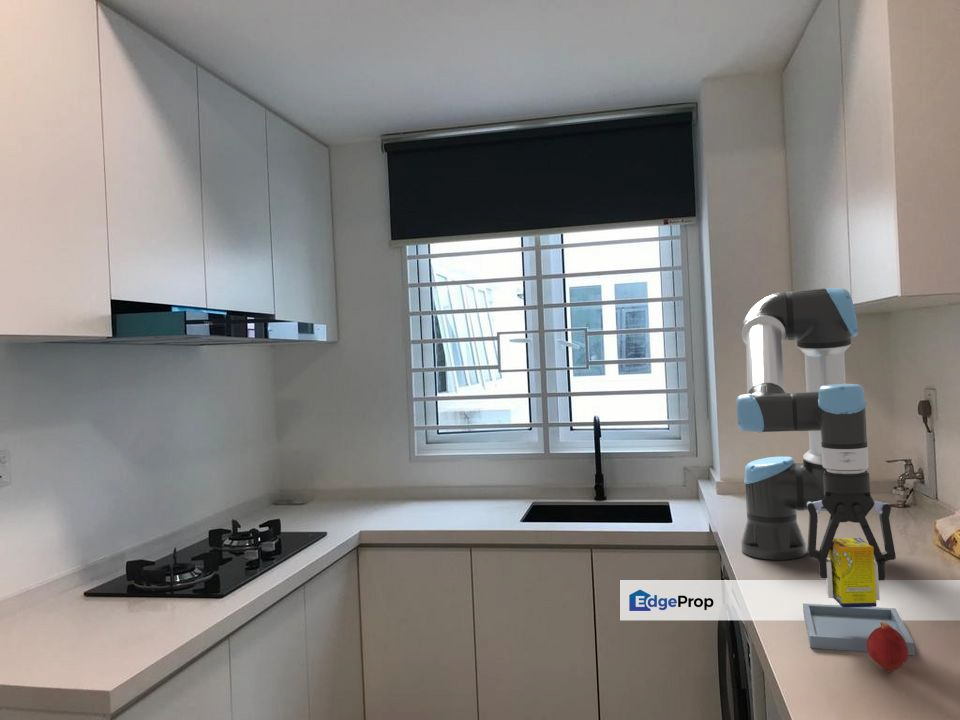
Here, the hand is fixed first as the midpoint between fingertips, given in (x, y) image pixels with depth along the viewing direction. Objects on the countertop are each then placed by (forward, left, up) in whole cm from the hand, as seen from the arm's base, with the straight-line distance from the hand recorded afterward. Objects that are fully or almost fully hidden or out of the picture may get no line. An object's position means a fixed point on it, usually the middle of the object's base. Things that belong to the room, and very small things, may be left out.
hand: (852, 596), depth 133 cm
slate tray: (0, 0, -7) cm, 7 cm away
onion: (+15, +3, -7) cm, 17 cm away
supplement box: (0, 0, -1) cm, 1 cm away
